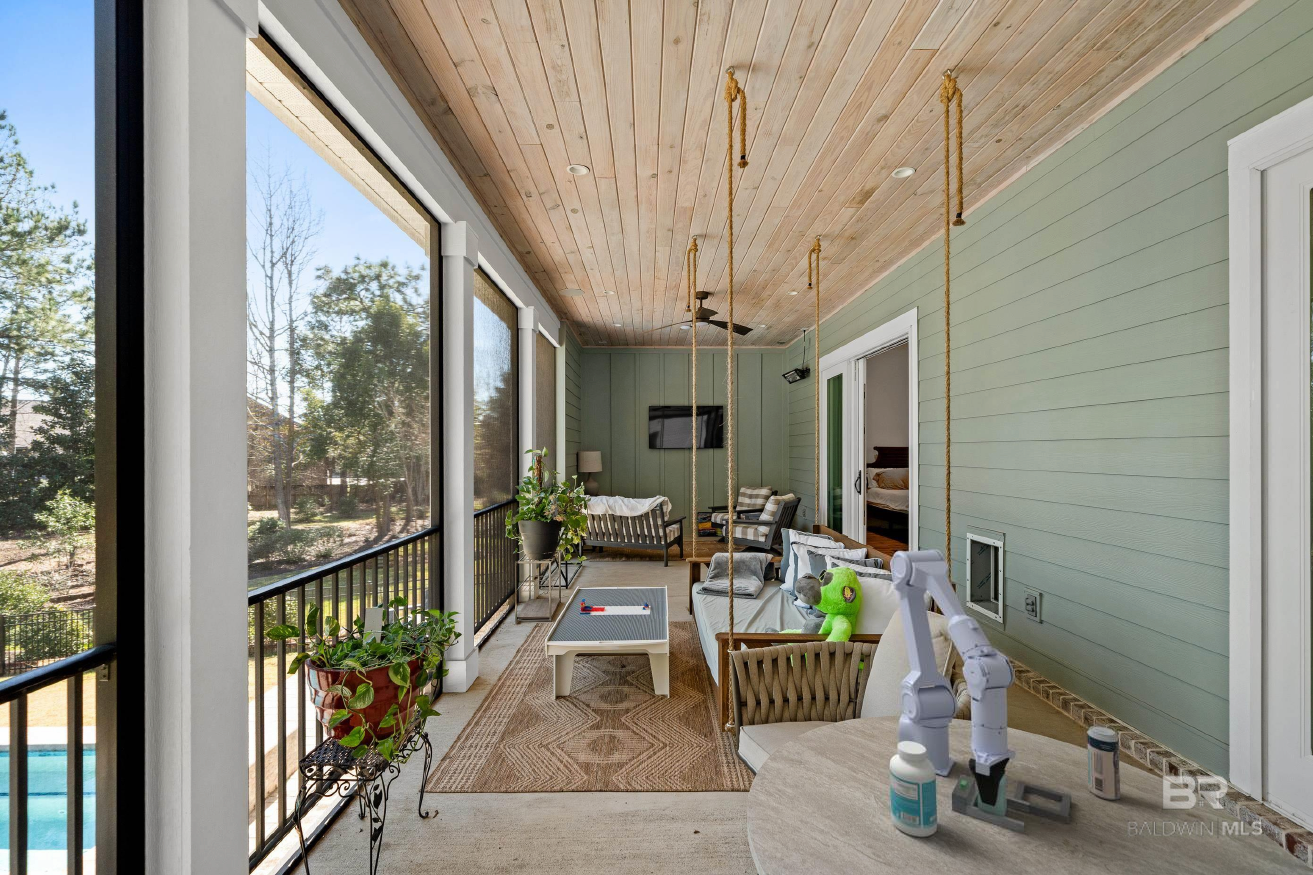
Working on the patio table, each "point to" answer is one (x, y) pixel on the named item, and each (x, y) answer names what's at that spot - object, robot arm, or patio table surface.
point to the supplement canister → (1103, 762)
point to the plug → (1000, 802)
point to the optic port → (966, 804)
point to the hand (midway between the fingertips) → (990, 797)
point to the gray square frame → (1048, 793)
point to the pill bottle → (913, 790)
